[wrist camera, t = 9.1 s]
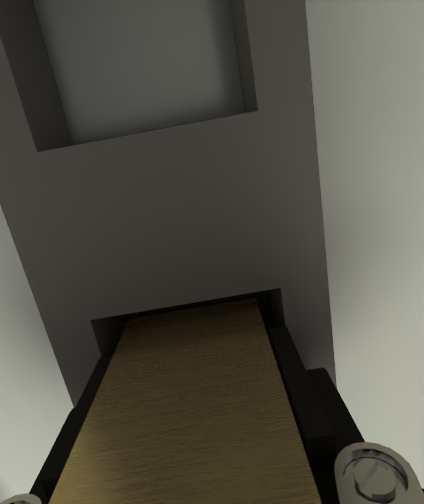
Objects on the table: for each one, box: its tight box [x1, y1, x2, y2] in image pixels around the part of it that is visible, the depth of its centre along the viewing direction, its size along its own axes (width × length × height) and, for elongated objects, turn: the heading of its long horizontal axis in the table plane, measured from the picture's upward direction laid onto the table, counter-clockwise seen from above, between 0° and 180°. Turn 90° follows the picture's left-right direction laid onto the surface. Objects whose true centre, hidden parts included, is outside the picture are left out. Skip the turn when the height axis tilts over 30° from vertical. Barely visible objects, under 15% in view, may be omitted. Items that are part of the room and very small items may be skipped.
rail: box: [0, 0, 337, 408], centre depth 10 cm, size 8×24×2 cm, turn 10°
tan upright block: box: [49, 298, 322, 504], centre depth 8 cm, size 4×4×8 cm
